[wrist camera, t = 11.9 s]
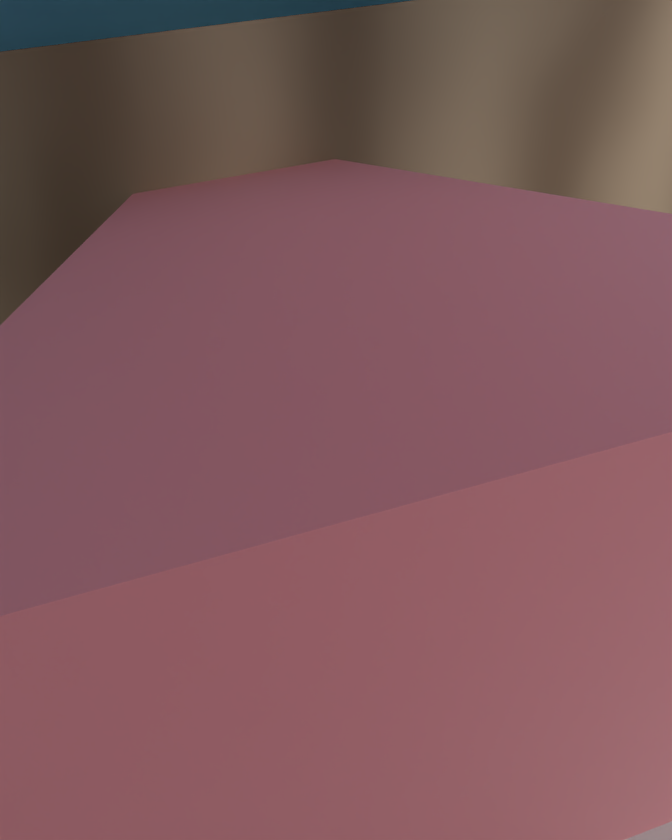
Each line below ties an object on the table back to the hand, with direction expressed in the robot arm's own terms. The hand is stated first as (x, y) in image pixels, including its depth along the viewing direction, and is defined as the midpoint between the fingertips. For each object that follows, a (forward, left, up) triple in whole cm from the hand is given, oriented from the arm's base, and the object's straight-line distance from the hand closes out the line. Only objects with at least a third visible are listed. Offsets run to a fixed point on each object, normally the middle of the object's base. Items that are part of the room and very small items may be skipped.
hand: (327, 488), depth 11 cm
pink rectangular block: (0, 0, -5) cm, 5 cm away
